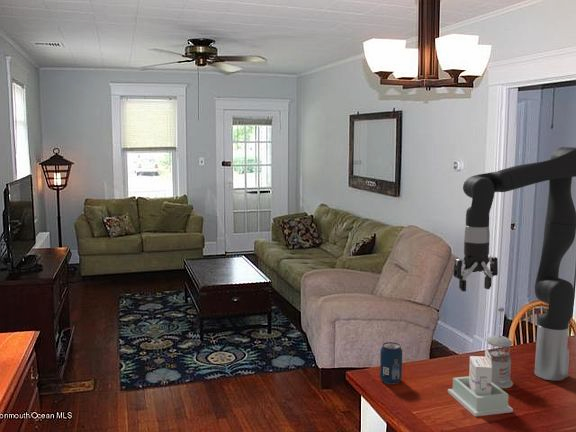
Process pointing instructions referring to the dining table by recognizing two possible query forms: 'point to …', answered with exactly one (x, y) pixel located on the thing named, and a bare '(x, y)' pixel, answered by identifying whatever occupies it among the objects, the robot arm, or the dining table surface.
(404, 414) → the dining table surface
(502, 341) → the french press
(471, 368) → the ink cartridge box
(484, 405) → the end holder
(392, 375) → the soda can
